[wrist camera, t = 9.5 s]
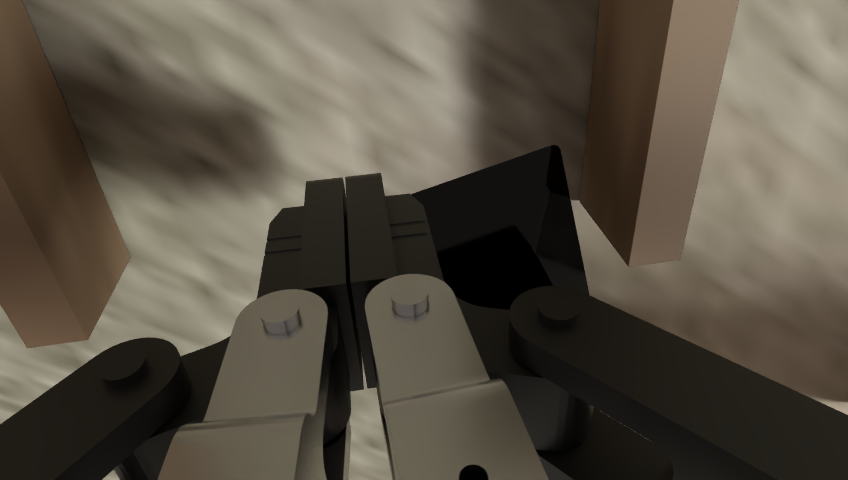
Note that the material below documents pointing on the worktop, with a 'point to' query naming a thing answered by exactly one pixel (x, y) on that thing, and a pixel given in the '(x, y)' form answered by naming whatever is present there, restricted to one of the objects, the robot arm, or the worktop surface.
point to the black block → (506, 230)
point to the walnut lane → (600, 190)
